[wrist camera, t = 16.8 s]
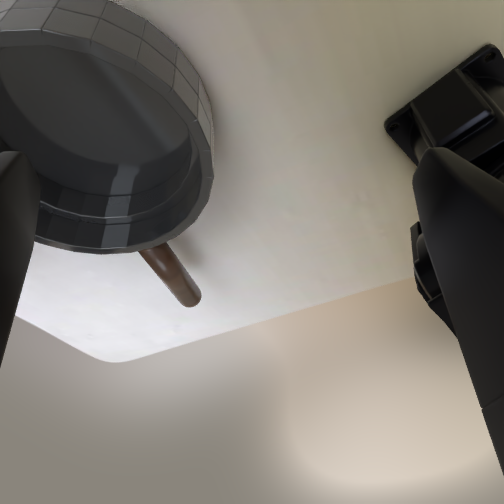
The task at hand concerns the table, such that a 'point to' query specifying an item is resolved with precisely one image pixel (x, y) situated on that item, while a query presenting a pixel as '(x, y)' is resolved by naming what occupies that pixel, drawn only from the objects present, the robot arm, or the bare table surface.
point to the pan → (104, 124)
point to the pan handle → (172, 274)
